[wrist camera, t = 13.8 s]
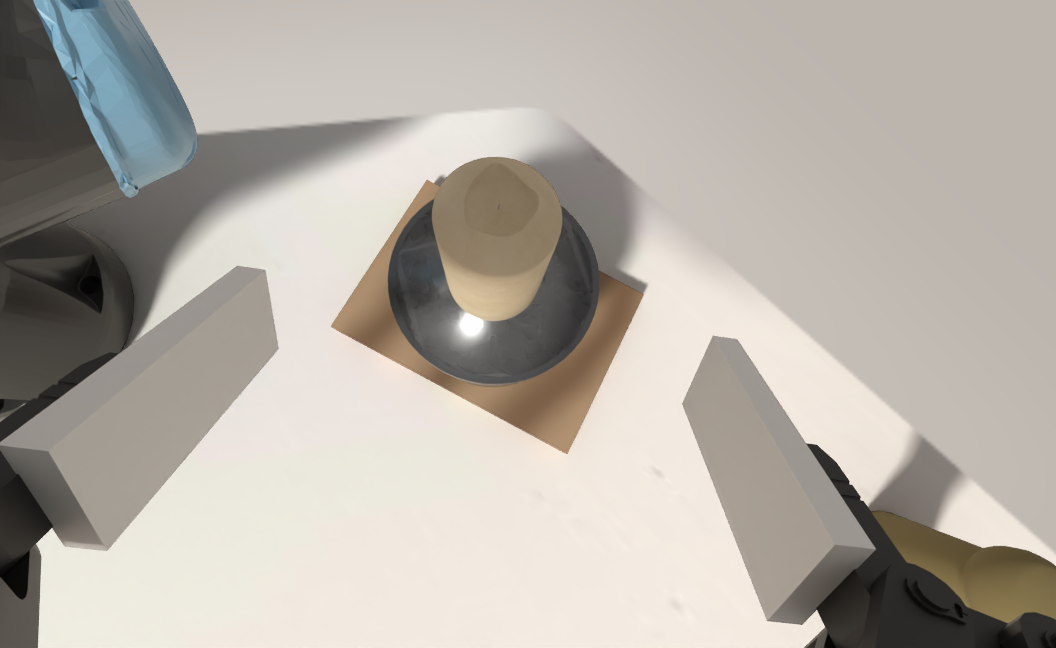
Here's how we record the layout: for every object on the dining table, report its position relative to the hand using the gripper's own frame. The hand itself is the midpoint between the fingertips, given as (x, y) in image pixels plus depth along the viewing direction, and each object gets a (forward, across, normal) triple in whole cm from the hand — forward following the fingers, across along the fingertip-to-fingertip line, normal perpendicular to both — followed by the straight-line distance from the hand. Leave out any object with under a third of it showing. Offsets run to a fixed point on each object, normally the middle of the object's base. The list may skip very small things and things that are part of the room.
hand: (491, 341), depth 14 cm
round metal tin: (+19, 0, -10) cm, 22 cm away
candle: (+14, 0, -5) cm, 14 cm away
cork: (+10, +33, -22) cm, 40 cm away
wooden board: (+20, 0, -11) cm, 23 cm away
